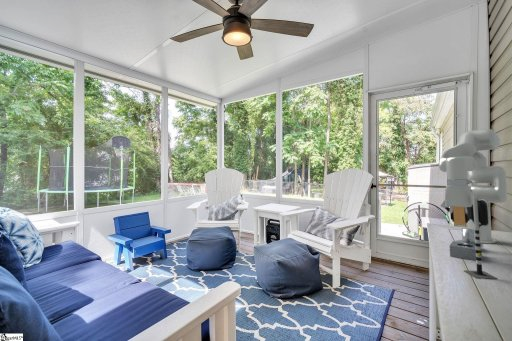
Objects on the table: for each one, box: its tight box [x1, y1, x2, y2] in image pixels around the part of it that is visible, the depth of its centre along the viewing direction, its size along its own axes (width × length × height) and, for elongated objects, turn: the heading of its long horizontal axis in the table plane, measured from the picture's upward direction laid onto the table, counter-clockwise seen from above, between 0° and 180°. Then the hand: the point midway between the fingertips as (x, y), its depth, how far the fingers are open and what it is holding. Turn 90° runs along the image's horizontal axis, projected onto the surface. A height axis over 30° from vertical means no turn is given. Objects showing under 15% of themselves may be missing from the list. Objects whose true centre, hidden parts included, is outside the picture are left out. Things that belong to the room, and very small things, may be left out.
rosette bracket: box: [449, 227, 484, 261], centre depth 119 cm, size 26×11×10 cm, turn 134°
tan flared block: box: [452, 207, 467, 226], centre depth 113 cm, size 4×5×9 cm
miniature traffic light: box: [463, 197, 498, 280], centre depth 93 cm, size 8×8×30 cm
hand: (460, 221), depth 113 cm, fingers closed on tan flared block, 4 cm apart
